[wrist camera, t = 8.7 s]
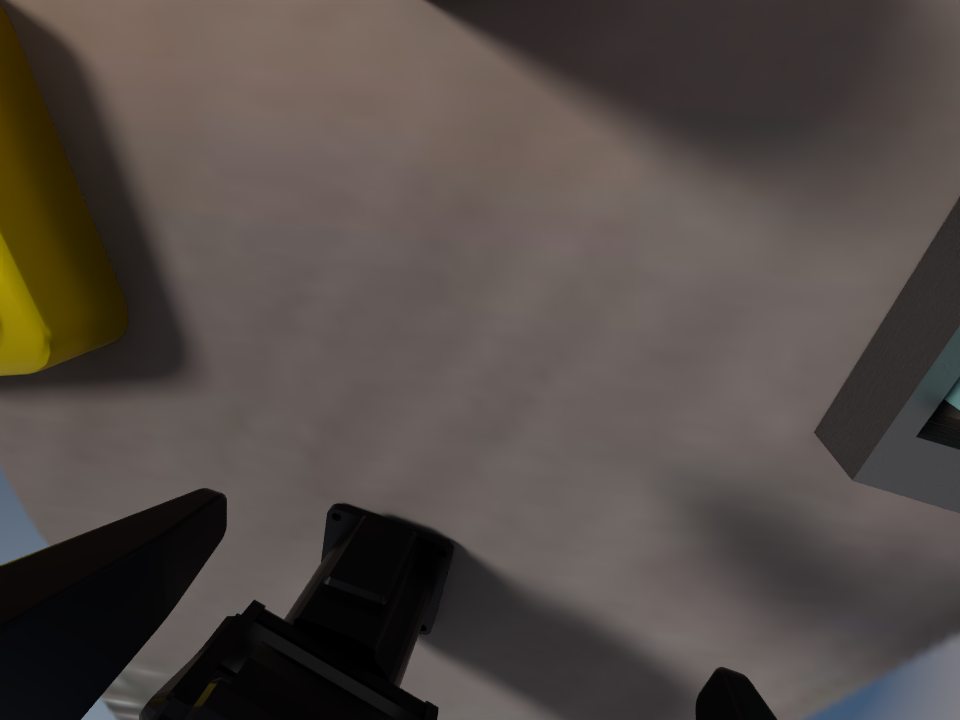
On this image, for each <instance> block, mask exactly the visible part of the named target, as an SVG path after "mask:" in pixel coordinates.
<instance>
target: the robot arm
mask: <svg viewBox="0 0 960 720" xmlns="http://www.w3.org/2000/svg"><path fill="white" fill-rule="evenodd" d="M337 513H338V514H340V515H338V514H337ZM226 527H227V498H226V496H225V495H224V494H223V493H220V492H217V491H214V490H211V489H208V488H202V489H198V490H196V491H193V492H191V493H188V494H185V495H183V496H180V497H178V498H175V499H172V500H170V501H167V502H165V503H162V504H159V505H157V506H154V507H152V508H149V509H146V510H144V511H141V512H139V513H136V514H133V515H131V516H128V517H125V518H123V519H120V520H118V521H115V522H112V523H110V524H107V525H105V526H102V527H99V528H97V529H94V530H92V531H89V532H86V533H84V534H81V535H79V536H76V537H73V538H71V539H68V540H66V541H63V542H60V543H58V544H55V545H53V546H50V547H47V548H45V549H42V550H39V551H37V552H35V553H32V554H29V555H26V556H24V557H21V558H19V559H16V560H14V561H11V562H8V563H6V564H3V565H0V720H81V719H82V718H83V716H84V715H85V714H86V713H87V712H88V711H89V709H90V708H91V707H92V706H93V705H94V703H95V702H96V701H97V700H98V699H99V698H100V696H101V695H102V694H103V693H104V692H105V690H106V689H107V688H108V687H109V686H110V685H111V683H112V682H113V681H114V680H115V679H116V677H117V676H118V675H119V674H120V673H121V672H122V670H123V669H124V668H125V667H126V666H127V665H128V663H129V662H130V661H131V660H132V659H133V657H134V656H135V655H136V654H137V653H138V652H139V650H140V649H141V648H142V647H143V646H144V644H145V643H146V642H147V641H148V640H149V639H150V637H151V636H152V635H153V634H154V633H155V631H156V630H157V629H158V628H159V627H160V625H161V624H162V623H163V622H164V620H165V619H166V618H167V617H168V615H169V614H170V613H171V611H172V610H173V609H174V607H175V606H176V605H177V603H178V602H179V600H180V599H181V597H182V596H183V595H184V593H185V592H186V590H187V589H188V587H189V586H190V585H191V583H192V582H193V580H194V579H195V577H196V576H197V575H198V573H199V572H200V570H201V569H202V567H203V566H204V564H205V563H206V562H207V560H208V559H209V557H210V556H211V554H212V553H213V552H214V550H215V549H216V547H217V546H218V544H219V543H220V542H221V540H222V538H223V536H224V534H225V531H226ZM441 549H443V550H445V551H442V550H441ZM453 552H454V546H453V544H452V543H451V542H450V541H448V540H445V539H442V538H439V537H437V536H434V535H431V534H428V533H425V532H422V531H419V530H416V529H413V528H410V527H407V526H404V525H401V524H398V523H395V522H393V521H390V520H387V519H384V518H381V517H378V516H375V515H372V514H369V513H366V512H363V511H360V510H357V509H354V508H351V507H349V506H346V505H343V504H338V503H337V504H334V505H333V506H332V507H331V508H330V509H329V511H328V513H327V519H326V527H325V535H324V543H323V551H322V559H321V564H320V566H319V567H318V569H317V570H316V572H315V573H314V575H313V577H312V578H311V580H310V581H309V583H308V584H307V586H306V587H305V589H304V590H303V592H302V593H301V595H300V596H299V598H298V599H297V601H296V602H295V604H294V605H293V607H292V608H291V610H290V611H289V613H288V614H287V616H286V617H285V619H284V620H283V619H282V618H280V617H278V616H277V615H275V614H273V613H272V612H270V611H268V610H266V609H265V607H266V606H265V605H263V604H261V603H260V602H258V601H256V600H253V602H252V603H251V604H250V605H249V606H248V608H247V609H246V610H245V611H244V612H243V613H242V614H241V615H240V614H238V613H237V614H236V615H235V616H227V617H226V618H225V619H224V621H223V622H222V623H221V624H220V626H219V627H218V628H217V629H216V631H215V632H214V633H213V635H212V636H211V637H210V638H209V640H208V641H207V642H206V643H205V645H204V646H203V647H202V648H201V649H200V650H199V652H198V653H197V654H196V655H195V656H194V657H193V658H192V659H191V660H190V661H189V662H188V663H187V664H186V665H185V666H184V667H183V668H182V669H181V670H180V671H179V672H178V673H176V674H175V675H174V676H173V677H172V678H171V679H170V680H169V681H168V682H167V683H166V684H165V685H164V686H163V687H162V688H161V689H160V690H159V691H158V692H157V693H156V694H155V695H154V696H153V697H152V698H151V699H150V700H149V701H148V703H147V704H146V705H145V707H144V708H143V710H142V711H141V713H140V715H139V720H437V716H438V707H437V706H435V705H433V704H432V703H430V702H428V701H426V702H423V701H422V700H420V699H418V698H416V697H415V696H413V695H411V694H410V693H408V692H406V691H405V690H403V689H401V688H399V687H400V685H401V682H402V679H403V676H404V674H405V671H406V668H407V665H408V662H409V660H410V657H411V654H412V651H413V649H414V646H415V643H416V640H417V637H418V635H419V634H423V635H426V634H429V633H430V632H431V630H432V627H433V624H434V620H435V617H436V613H437V609H438V606H439V602H440V599H441V595H442V592H443V588H444V585H445V581H446V577H447V574H448V570H449V567H450V563H451V560H452V556H453ZM696 720H777V718H776V717H775V716H774V714H773V713H772V711H771V710H770V708H769V707H768V706H767V704H766V703H765V701H764V700H763V698H762V697H761V696H760V694H759V693H758V691H757V690H756V689H755V687H754V686H753V684H752V683H751V681H750V680H749V679H748V678H747V677H746V676H745V675H743V674H741V673H739V672H736V671H733V670H730V669H727V668H724V667H719V668H717V669H716V670H715V671H714V673H713V674H712V675H711V677H710V678H709V680H708V681H707V683H706V684H705V686H704V687H703V689H702V690H701V692H700V693H699V695H698V698H697V701H696Z"/></svg>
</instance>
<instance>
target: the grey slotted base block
mask: <svg viewBox="0 0 960 720" xmlns="http://www.w3.org/2000/svg"><path fill="white" fill-rule="evenodd" d="M959 377H960V198H959V199H958V201H957V203H956V204H955V206H954V207H953V209H952V211H951V212H950V214H949V215H948V217H947V219H946V220H945V222H944V224H943V225H942V227H941V228H940V230H939V232H938V233H937V235H936V236H935V238H934V240H933V241H932V243H931V245H930V246H929V248H928V249H927V251H926V253H925V254H924V256H923V257H922V259H921V261H920V262H919V264H918V266H917V267H916V269H915V270H914V272H913V274H912V275H911V277H910V278H909V280H908V282H907V283H906V285H905V287H904V288H903V290H902V291H901V293H900V295H899V296H898V298H897V299H896V301H895V303H894V304H893V306H892V307H891V309H890V311H889V312H888V314H887V316H886V317H885V319H884V320H883V322H882V324H881V325H880V327H879V328H878V330H877V332H876V333H875V335H874V337H873V338H872V340H871V341H870V343H869V345H868V346H867V348H866V349H865V351H864V353H863V354H862V356H861V358H860V359H859V361H858V362H857V364H856V366H855V367H854V369H853V370H852V372H851V374H850V375H849V377H848V379H847V380H846V382H845V383H844V385H843V387H842V388H841V390H840V391H839V393H838V395H837V396H836V398H835V399H834V401H833V403H832V404H831V406H830V408H829V409H828V411H827V412H826V414H825V416H824V417H823V419H822V420H821V422H820V424H819V425H818V427H817V429H816V430H815V432H814V433H815V434H816V436H817V437H818V438H819V439H820V441H821V442H822V443H823V444H824V446H825V447H826V448H827V449H828V451H829V452H830V453H831V454H832V456H833V457H834V458H835V459H836V461H837V462H838V463H839V464H840V466H841V467H842V468H843V469H844V471H845V472H846V473H847V474H848V476H849V477H850V478H851V479H852V481H856V482H859V483H862V484H866V485H869V486H872V487H875V488H879V489H882V490H885V491H889V492H892V493H895V494H899V495H902V496H905V497H908V498H912V499H915V500H918V501H922V502H925V503H928V504H931V505H935V506H938V507H941V508H945V509H948V510H951V511H955V512H958V513H960V420H957V419H954V418H950V417H947V416H943V415H940V414H936V413H933V412H934V411H935V410H936V408H937V407H938V405H939V404H940V403H941V401H942V400H943V399H944V397H945V396H946V395H947V393H948V392H949V390H950V389H951V388H952V386H953V385H954V384H955V382H956V381H957V379H958V378H959Z"/></svg>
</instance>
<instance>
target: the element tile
mask: <svg viewBox="0 0 960 720" xmlns="http://www.w3.org/2000/svg"><path fill="white" fill-rule="evenodd" d="M127 326H128V314H127V306H126V302H125V299H124V296H123V294H122V291H121V289H120V286H119V284H118V282H117V279H116V277H115V274H114V272H113V269H112V267H111V264H110V262H109V260H108V257H107V255H106V252H105V250H104V247H103V245H102V242H101V240H100V238H99V235H98V233H97V230H96V228H95V225H94V223H93V221H92V218H91V216H90V213H89V211H88V208H87V206H86V203H85V201H84V199H83V196H82V194H81V191H80V189H79V186H78V184H77V181H76V179H75V177H74V174H73V172H72V169H71V167H70V164H69V162H68V159H67V157H66V155H65V152H64V150H63V147H62V145H61V142H60V140H59V137H58V135H57V133H56V130H55V128H54V125H53V123H52V120H51V118H50V115H49V113H48V111H47V108H46V106H45V103H44V101H43V98H42V96H41V94H40V91H39V89H38V86H37V84H36V81H35V79H34V76H33V74H32V72H31V69H30V67H29V64H28V62H27V59H26V57H25V54H24V52H23V50H22V47H21V45H20V42H19V40H18V37H17V35H16V32H15V30H14V28H13V26H12V24H11V22H10V20H9V18H8V16H7V14H6V13H5V11H4V9H3V8H2V6H1V5H0V376H5V375H20V374H31V373H35V372H38V371H42V370H44V369H47V368H49V367H52V366H55V365H57V364H60V363H62V362H65V361H67V360H70V359H72V358H75V357H77V356H80V355H82V354H85V353H87V352H90V351H92V350H95V349H97V348H100V347H103V346H105V345H108V344H110V343H113V342H115V341H116V340H118V339H119V338H120V337H122V336H123V335H124V333H125V331H126V328H127Z"/></svg>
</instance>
